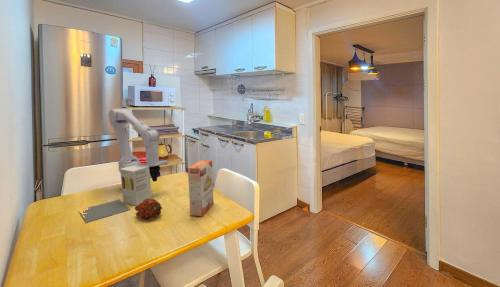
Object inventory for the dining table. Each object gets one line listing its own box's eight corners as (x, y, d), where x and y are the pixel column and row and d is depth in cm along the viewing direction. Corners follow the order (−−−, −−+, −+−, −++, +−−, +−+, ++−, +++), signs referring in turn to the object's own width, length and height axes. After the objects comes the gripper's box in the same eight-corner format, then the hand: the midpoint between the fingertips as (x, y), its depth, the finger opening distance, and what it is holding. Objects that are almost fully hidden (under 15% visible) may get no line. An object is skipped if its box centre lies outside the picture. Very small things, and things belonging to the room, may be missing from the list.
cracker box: (203, 217, 104) (200, 168, 101) (189, 216, 106) (186, 167, 102) (214, 203, 118) (212, 159, 114) (202, 202, 119) (200, 159, 115)
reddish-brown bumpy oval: (162, 223, 104) (138, 224, 107) (169, 204, 109) (145, 206, 113) (151, 212, 98) (125, 214, 101) (159, 193, 104) (134, 195, 107)
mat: (78, 210, 113) (78, 210, 113) (119, 200, 124) (119, 199, 124) (86, 223, 101) (85, 222, 101) (130, 209, 113) (130, 209, 113)
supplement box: (122, 202, 121) (118, 168, 118) (139, 196, 129) (135, 164, 126) (136, 206, 117) (133, 171, 114) (152, 199, 125) (149, 165, 122)
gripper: (140, 158, 117) (143, 186, 120) (169, 153, 127) (171, 179, 129) (134, 156, 122) (137, 183, 125) (163, 151, 132) (165, 176, 134)
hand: (154, 180), depth 127 cm, fingers closed
